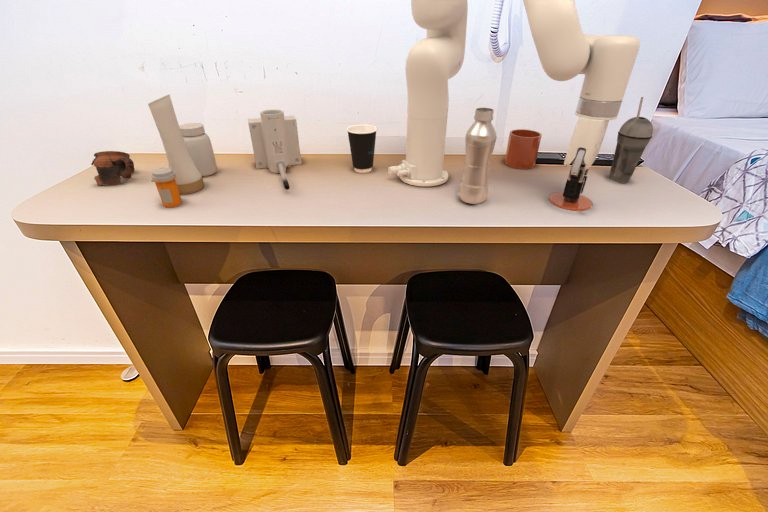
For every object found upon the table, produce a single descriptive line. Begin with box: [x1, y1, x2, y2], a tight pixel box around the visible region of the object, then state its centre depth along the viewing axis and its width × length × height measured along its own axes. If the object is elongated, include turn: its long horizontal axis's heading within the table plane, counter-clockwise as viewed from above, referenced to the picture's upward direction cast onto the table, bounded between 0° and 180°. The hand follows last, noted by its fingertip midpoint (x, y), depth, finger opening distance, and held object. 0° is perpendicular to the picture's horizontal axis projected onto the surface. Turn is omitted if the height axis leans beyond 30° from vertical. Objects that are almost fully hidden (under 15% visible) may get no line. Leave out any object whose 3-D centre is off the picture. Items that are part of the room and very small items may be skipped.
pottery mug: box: [90, 150, 136, 186], centre depth 97 cm, size 12×10×8 cm
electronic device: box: [247, 109, 302, 191], centre depth 96 cm, size 12×26×15 cm, turn 18°
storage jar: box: [504, 128, 543, 170], centre depth 106 cm, size 8×8×8 cm
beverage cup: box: [608, 96, 654, 184], centre depth 93 cm, size 7×7×20 cm
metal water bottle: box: [458, 107, 498, 205], centre depth 82 cm, size 6×7×20 cm
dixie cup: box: [345, 124, 378, 174], centre depth 102 cm, size 8×8×11 cm
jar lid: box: [549, 177, 593, 212], centre depth 85 cm, size 9×9×7 cm
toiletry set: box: [147, 94, 218, 209], centre depth 89 cm, size 25×8×21 cm, turn 2°
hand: (572, 194), depth 85 cm, fingers closed on jar lid, 3 cm apart
